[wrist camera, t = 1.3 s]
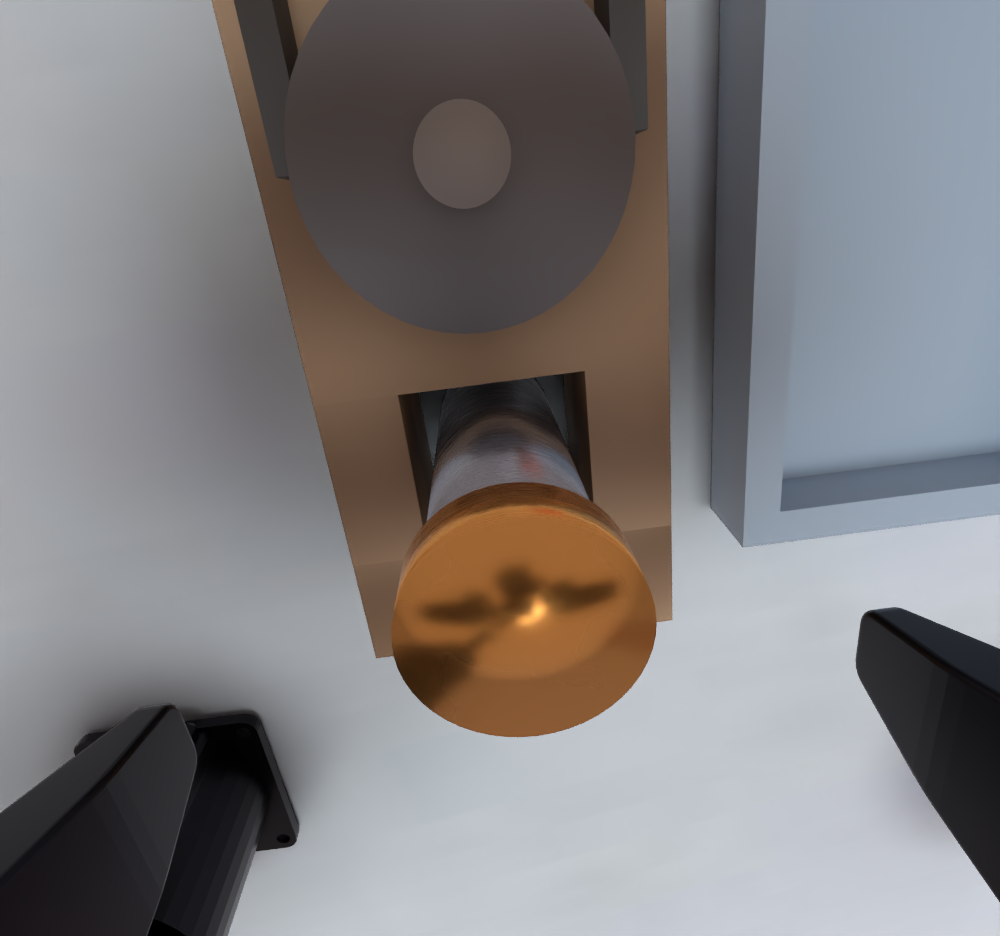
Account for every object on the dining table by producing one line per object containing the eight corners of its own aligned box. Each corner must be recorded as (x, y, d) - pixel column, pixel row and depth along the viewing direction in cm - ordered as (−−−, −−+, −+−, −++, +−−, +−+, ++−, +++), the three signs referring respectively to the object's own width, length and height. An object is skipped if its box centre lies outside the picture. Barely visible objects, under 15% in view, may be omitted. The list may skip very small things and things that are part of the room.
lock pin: (563, 466, 19) (658, 719, 10) (441, 482, 19) (416, 751, 10) (553, 344, 17) (653, 501, 8) (420, 361, 17) (365, 538, 8)
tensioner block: (634, 544, 20) (699, 674, 14) (393, 575, 20) (363, 718, 14) (612, -68, 14) (710, -257, 8) (260, -22, 14) (119, -180, 8)
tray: (1019, 468, 20) (1092, 502, 17) (710, 507, 20) (742, 547, 17) (1175, -199, 13) (1322, -284, 11) (722, -140, 13) (775, -212, 11)
